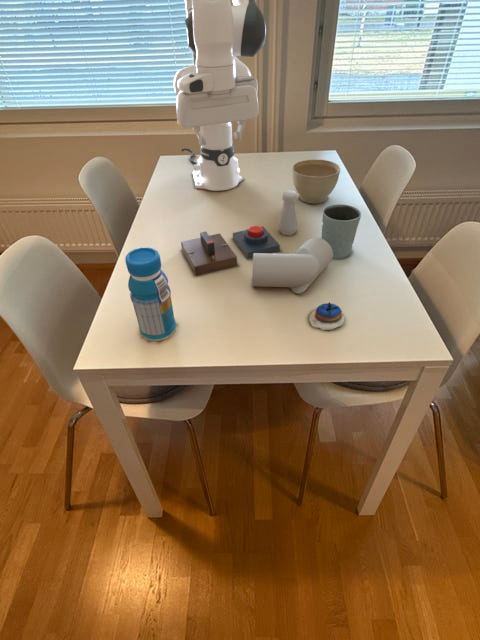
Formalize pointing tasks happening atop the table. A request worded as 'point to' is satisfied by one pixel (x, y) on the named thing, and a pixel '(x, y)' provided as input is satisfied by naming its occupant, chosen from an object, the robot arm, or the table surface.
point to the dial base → (202, 260)
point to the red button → (255, 231)
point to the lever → (207, 243)
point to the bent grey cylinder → (292, 266)
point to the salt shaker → (288, 213)
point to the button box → (255, 243)
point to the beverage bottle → (150, 294)
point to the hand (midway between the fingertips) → (220, 142)
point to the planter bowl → (315, 179)
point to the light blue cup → (340, 228)
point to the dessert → (327, 317)
